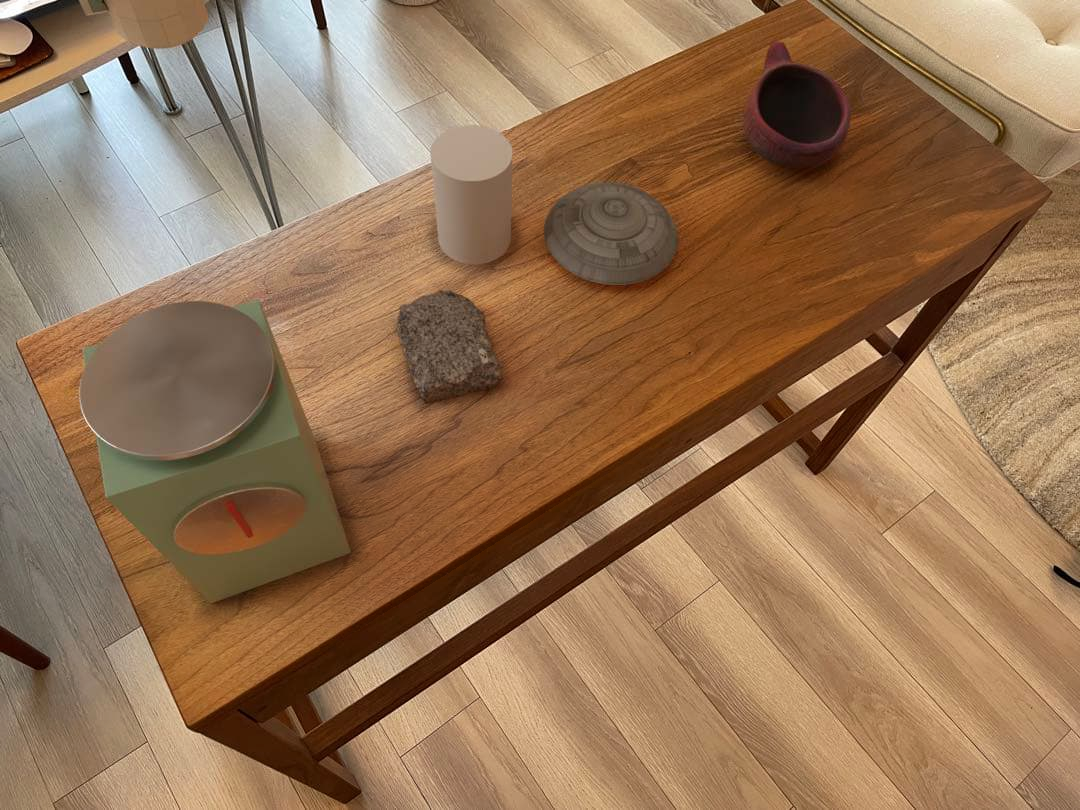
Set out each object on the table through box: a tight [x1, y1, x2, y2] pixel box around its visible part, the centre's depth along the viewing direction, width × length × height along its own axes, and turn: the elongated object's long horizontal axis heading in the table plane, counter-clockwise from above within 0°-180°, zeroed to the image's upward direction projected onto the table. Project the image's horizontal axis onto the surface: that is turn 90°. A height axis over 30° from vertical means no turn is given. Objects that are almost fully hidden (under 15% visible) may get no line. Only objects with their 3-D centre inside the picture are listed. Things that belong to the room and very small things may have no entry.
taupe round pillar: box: [430, 124, 514, 266], centre depth 84 cm, size 8×8×12 cm
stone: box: [396, 289, 502, 404], centre depth 79 cm, size 12×9×4 cm
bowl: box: [742, 40, 852, 169], centre depth 97 cm, size 16×13×8 cm
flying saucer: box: [543, 181, 679, 286], centre depth 88 cm, size 15×15×6 cm
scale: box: [78, 299, 352, 604], centre depth 61 cm, size 12×13×23 cm
